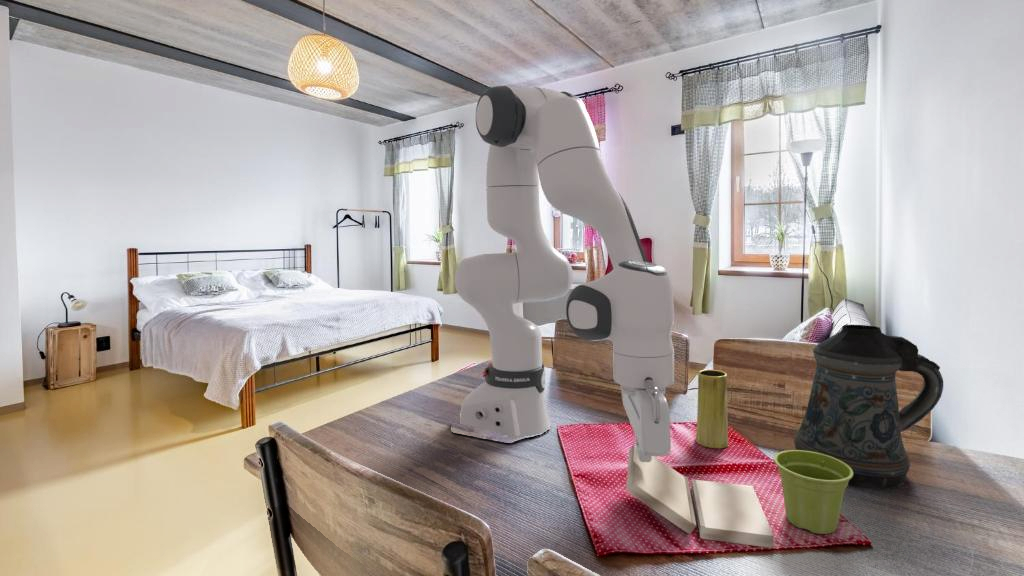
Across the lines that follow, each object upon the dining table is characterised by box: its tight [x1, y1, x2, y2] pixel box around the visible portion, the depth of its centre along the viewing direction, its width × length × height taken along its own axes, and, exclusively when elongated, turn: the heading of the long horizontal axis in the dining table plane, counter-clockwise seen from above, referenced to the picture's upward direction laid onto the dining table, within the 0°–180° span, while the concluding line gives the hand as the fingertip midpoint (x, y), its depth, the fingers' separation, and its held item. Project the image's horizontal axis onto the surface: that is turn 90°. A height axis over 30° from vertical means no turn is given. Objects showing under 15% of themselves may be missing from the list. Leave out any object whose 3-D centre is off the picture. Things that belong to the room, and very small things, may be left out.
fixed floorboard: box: [691, 478, 775, 549], centre depth 69 cm, size 9×13×2 cm
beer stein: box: [793, 324, 944, 490], centre depth 81 cm, size 16×19×25 cm
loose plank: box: [625, 443, 697, 535], centre depth 71 cm, size 10×13×2 cm
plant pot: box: [773, 449, 853, 535], centre depth 66 cm, size 9×9×9 cm
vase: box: [695, 369, 730, 450], centre depth 93 cm, size 6×6×14 cm
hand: (643, 457), depth 71 cm, fingers closed
